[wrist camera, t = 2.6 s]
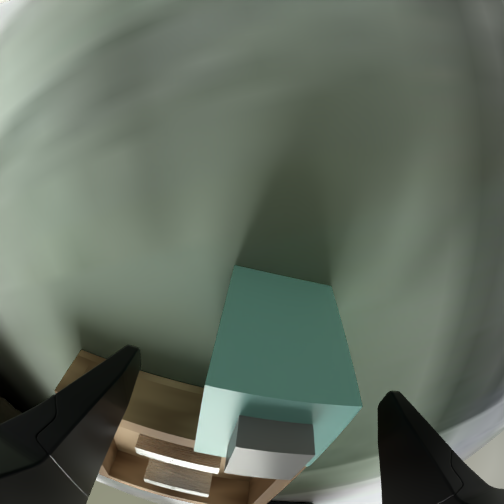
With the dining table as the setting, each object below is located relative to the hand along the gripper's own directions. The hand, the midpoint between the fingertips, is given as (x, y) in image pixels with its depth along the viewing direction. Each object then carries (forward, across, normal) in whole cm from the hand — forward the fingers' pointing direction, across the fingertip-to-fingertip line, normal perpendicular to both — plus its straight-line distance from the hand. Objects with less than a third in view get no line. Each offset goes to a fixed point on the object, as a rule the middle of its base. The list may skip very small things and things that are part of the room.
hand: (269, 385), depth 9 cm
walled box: (+4, +3, +13) cm, 14 cm away
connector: (+4, 0, 0) cm, 4 cm away
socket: (+4, +3, +13) cm, 14 cm away
